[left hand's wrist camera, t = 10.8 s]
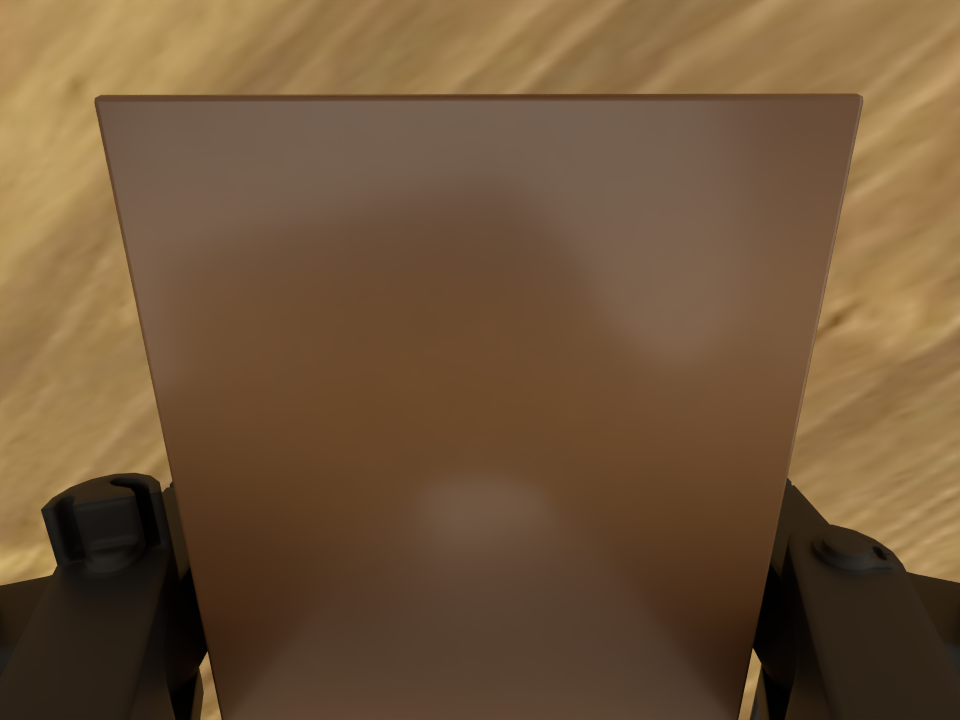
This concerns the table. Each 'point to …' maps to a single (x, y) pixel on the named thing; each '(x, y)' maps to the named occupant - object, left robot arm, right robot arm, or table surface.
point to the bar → (479, 386)
